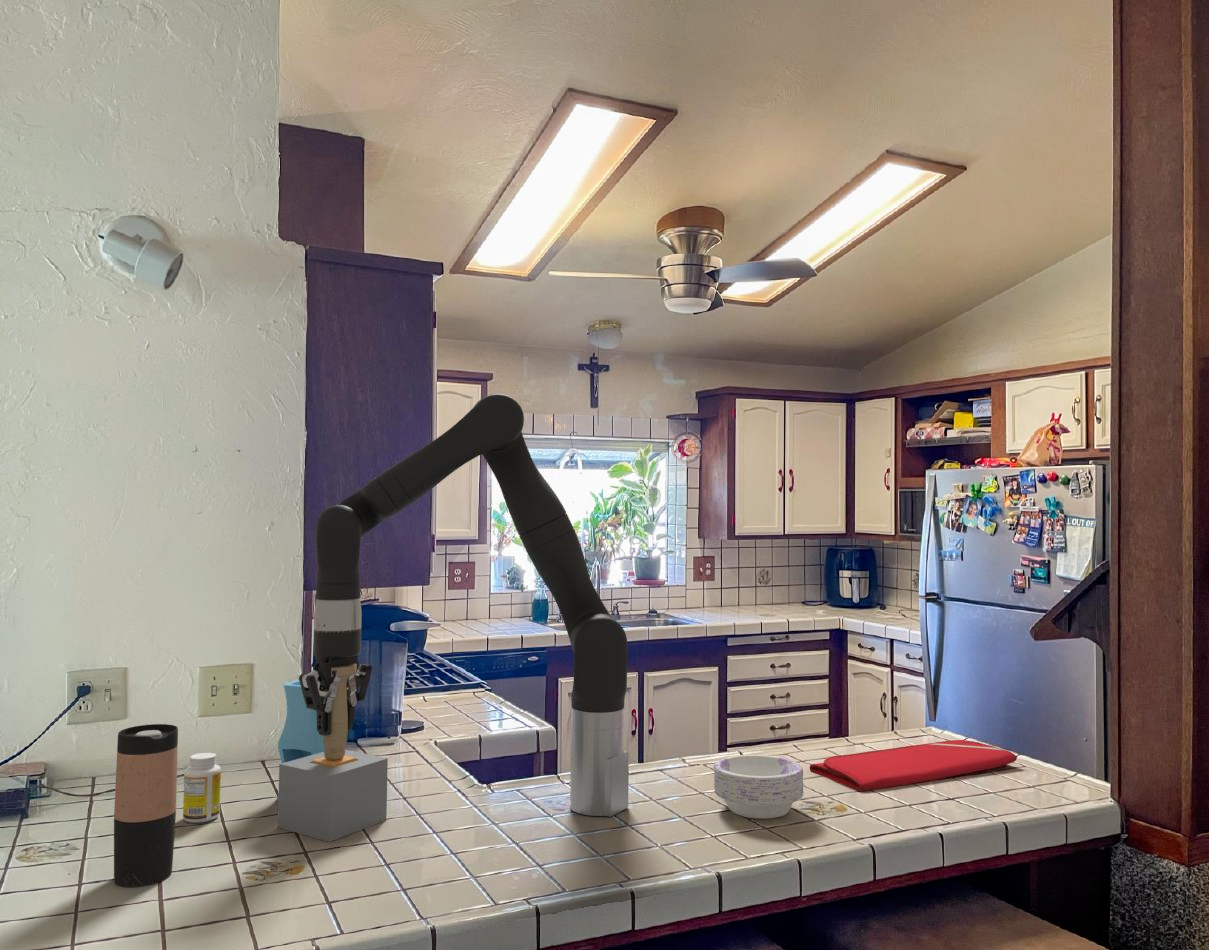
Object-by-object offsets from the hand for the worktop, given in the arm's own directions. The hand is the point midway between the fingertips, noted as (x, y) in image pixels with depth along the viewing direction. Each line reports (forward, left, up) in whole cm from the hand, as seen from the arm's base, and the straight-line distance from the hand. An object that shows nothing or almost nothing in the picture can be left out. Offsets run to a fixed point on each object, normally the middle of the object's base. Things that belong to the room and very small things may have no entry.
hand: (335, 731), depth 145 cm
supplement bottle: (+20, +10, -15) cm, 27 cm away
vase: (+15, -8, -15) cm, 23 cm away
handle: (0, 0, -4) cm, 4 cm away
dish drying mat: (-73, -86, -16) cm, 114 cm away
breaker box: (0, 0, -15) cm, 15 cm away
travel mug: (+5, +29, -15) cm, 33 cm away
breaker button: (0, 0, -8) cm, 8 cm away
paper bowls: (-56, -44, -15) cm, 73 cm away
